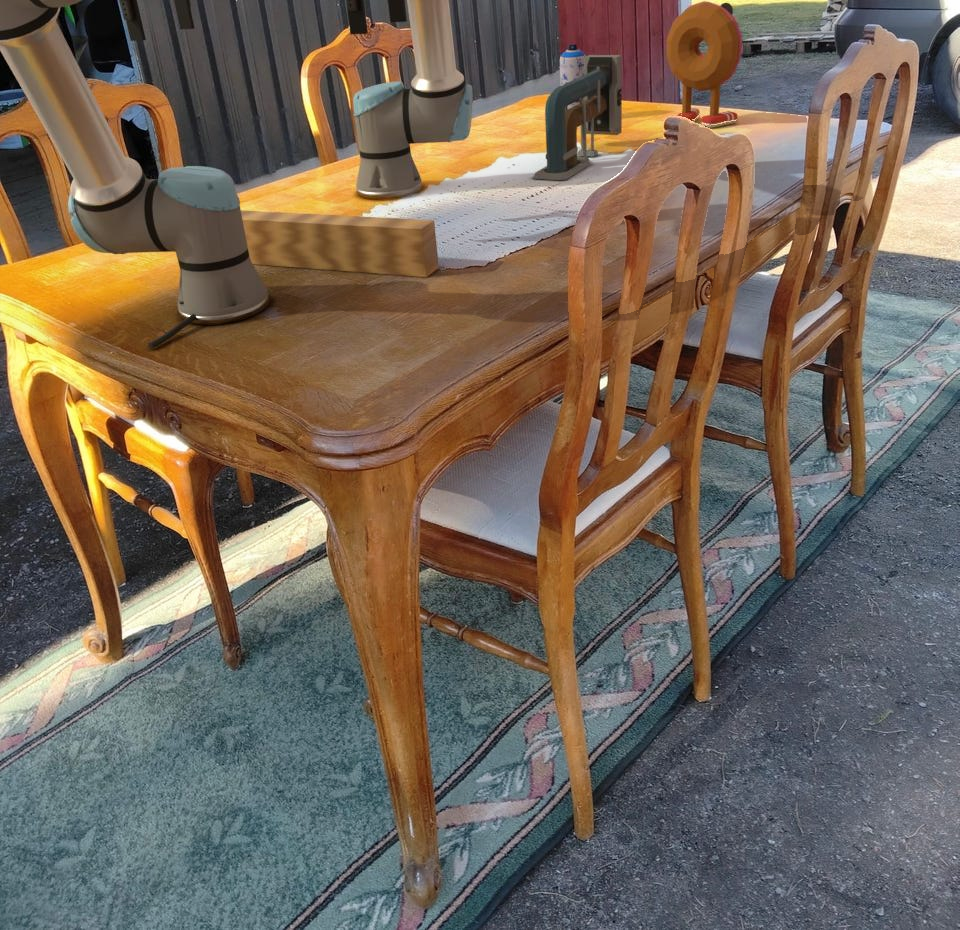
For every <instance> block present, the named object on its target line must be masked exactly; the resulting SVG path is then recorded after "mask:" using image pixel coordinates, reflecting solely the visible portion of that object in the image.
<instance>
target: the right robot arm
mask: <svg viewBox="0 0 960 930" xmlns="http://www.w3.org/2000/svg"><path fill="white" fill-rule="evenodd" d="M345 3H346V11H347V20H348V26H349V34H350V35H367V34H368V33H369V31H368V23H367V15H366V7H365V0H345ZM387 4H388V13H389V22H390V23H406V22H408V20H407V19H409V26H410V33H411V42H412V49H413V55H414V62H415V69H416V70H415V71H416V74H415V76H414V77H413V78H412V80H411V82H410V85H411V88H405V84H404V83H403V82H402V81H399V80H397V81H389V82H388V81H387V82H383V83H379V84H375V85H371V86H368V87H365V88H362V89H360V90H358V91H357V92H356V93H355V94H354V95H353V99H352V104H353V117H354V122H355V132H356V137H357V145H358V152H359V158H360V159H359V160H360V161H359V162H360V163H359V167H358V173H357V180H356V183H355V184H356V186H355V188H356V195H357V196H358V197H359V198H362V199H365V200H372V201H373V200H377V201H378V200H379V201H380V200H381V201H383V200H394V199H401V198H405V197H410V196H413V195H415V194H417V193H419V192H421V190H422V189H423V179H422V177H421V175H420V172H419V170H418V167H417V165H416V163H415V161H414V159H413V156H412V151H411V145H412V144H432V143H433V144H434V143H448V144H450V143H451V142H461V141H465V140H466V139H468V138H469V136H470V134H471V127H472V118H473V117H472V116H473V104H474V103H473V101H474V100H473V99H474V98H473V97H474V95H473V94H474V93H473V86H472V85H471V84H468V83H465V77H464V74H462V72H460V71H459V70H457V65H456V64H457V63H456V56H455V48H454V37H453V29H452V20H451V19H452V17H451V9H450V2H449V0H387ZM406 4H407V9H406ZM407 11H408V18H407Z"/></svg>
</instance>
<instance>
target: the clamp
mask: <svg viewBox="0 0 960 930" xmlns="http://www.w3.org/2000/svg"><path fill="white" fill-rule="evenodd" d="M622 58H623V56H622V55H621V54H589V55H586V57H585V75H583V76H581V77H579V78H577V79H575V80H573V81H570V82H568V83H566V84H564V85H562V86H560V85H559V86H557V87H555V88H554V89H553V91H552V92H551V93H550V94H549V95H548V96H547V99H546V101H545V107H544V120H545V121H544V122H545V123H544V124H545V146H546V147H545V149H546V150H545V151H546V154H545V160H546V165H545V166H544V167H542V168H541V169H538V170H537V171H535V172H534V174H533V176H532V178H533V179H536V180H549V181H551V180H552V181H564V180H568V179H570V178H571V177H572V176H574V175H576V174H577V173H579V172H580V171H582V170H584V169H585V168H587V167H588V166H591V161H590V158H589V157H593V158H594V157H595V156H598V155H599V153H598V150H597V149H595V135H602V136H603V135H605V136H619V135H620V134H621V133H622V129H623V128H622V127H623V125H622V122H623V121H622V120H623V117H622V116H623V115H622V108H623V107H622V104H623V103H622V98H623V95H622V91H623V89H622V87H623V86H622V85H623V82H622V81H623V79H622V78H623V76H622V75H623V74H622V73H623V72H622V71H623V70H622V69H623V68H622V67H623V65H622V61H623V59H622ZM574 102H580V104H578V105H576V106H574V107H572V108H570V109H568V105H570V104H572V103H574ZM579 127H580V148H581V149H580V150H579V149H578V134H577V133H578V128H579ZM587 135H590V149H587Z"/></svg>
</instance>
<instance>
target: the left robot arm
mask: <svg viewBox="0 0 960 930" xmlns="http://www.w3.org/2000/svg"><path fill="white" fill-rule="evenodd" d="M81 1H83V0H0V53H1V54H2V56H3V58H4V60H5V61H6V63H7V65H8V66H9V69H10V70H11V72H12V74H13V75H14V77H15V79H16V81H17V82H18V84H19V86H20V87H21V89H22V91H23V93H24V95H25V96H26V98H27V100H28V102H29V103H30V105H31V107H32V109H33V111H34V112H35V114H36V116H37V117H38V119H39V121H40V123H41V124H42V127H43V128H44V129H45V132H46V133H47V136H49V138H50V140H51V142H52V144H53V145H54V147H55V150H57V152H58V154H59V155H60V157H61V159H62V161H63V163H64V164H65V166H66V169H67V170H68V172H69V173H70V175H71V177H72V178H73V179H72V181H71V184H70V194H69V195H68V202H67V209H68V210H67V211H68V213H69V214H70V215H71V218H70V223H71V226H72V228H73V230H74V233H75V234H76V235H77V237H78V239H79V240H80V241H81V242H82V243H83V244H84V245H85V246H86V247H88V248H89V249H90V250H92V251H95V252H97V253H100V254H112V255H126V254H136V253H139V254H140V253H168V252H169V253H175V254H176V258H177V262H178V266H179V283H178V294H177V310H178V314H179V318H180V319H182V320H181V322H179V323H178V324H177V325H175V326H174V327H172V328H171V329H170V330H168V331H167V332H166V333H164V334H162V335H161V336H159V337H157V338H156V339H154V340H152V341H149V342H148V344H147V346H148V348H149V349H155V348H156V347H158V346H160V345H161V344H164V343H166V342H167V341H168V340H169V339H171V338H172V337H174V336H175V335H176V334H177V333H179V332H180V331H182V330H183V329H184V328H186V327H187V326H188V325H190V324H193V325H202V326H203V325H204V326H205V325H206V326H210V325H222V324H230V323H233V322H239V321H241V320H245V319H248V318H251V317H253V316H256V315H258V314H260V312H263V311H264V310H265V309H266V308H267V307H268V306H269V305H270V296H269V292H268V290H267V287H266V284H265V283H264V282H263V280H262V278H261V276H260V274H259V272H258V270H257V269H256V267H255V264H252V262H251V259H250V256H249V251H248V246H247V240H246V235H245V230H244V225H243V220H242V214H241V210H242V209H241V201H240V198H239V196H238V193H237V188H236V184H235V182H234V180H233V178H232V177H231V175H230V174H228V173H227V172H226V171H224V170H222V169H219V168H215V167H210V166H203V165H186V166H176V167H171V168H167V169H164V170H162V171H161V172H160V173H159V174H158V176H157V177H158V178H155V179H154V178H153V179H151V178H150V179H149V178H147V177H146V175H145V173H144V171H143V168H142V166H141V165H140V163H139V162H138V161H137V160H135V159H133V158H131V157H129V156H128V157H127V156H125V154H124V153H123V151H122V148H121V147H120V144H119V143H118V140H117V138H116V137H115V135H114V132H113V130H112V129H111V127H110V125H109V122H108V121H107V118H106V117H105V115H104V113H103V111H102V109H101V107H100V105H99V103H98V101H97V99H96V97H95V95H94V94H93V91H92V89H91V87H90V86H89V84H88V82H87V79H86V77H85V76H84V74H83V72H82V69H81V68H80V66H79V63H78V62H77V60H76V58H75V56H74V54H73V52H72V50H71V48H70V46H69V45H68V42H67V40H66V38H65V37H64V35H63V33H62V31H61V28H60V26H59V24H58V22H57V19H58V16H59V13H60V11H61V8H64V7H69V6H72V5H75V4H79V2H81ZM118 1H119V4H120V9H121V13H122V17H123V19H124V21H125V23H126V27H127V31H128V35H129V39H130V42H136V41H137V42H140V41H142V42H143V41H146V39H147V38H146V34H145V30H144V25H143V21H142V17H141V13H140V9H139V4H138V0H118ZM173 3H174V7H175V11H176V17H177V21H178V25H179V30H194V29H195V23H194V19H193V14H192V9H191V8H192V4H191V3H192V2H191V0H173Z"/></svg>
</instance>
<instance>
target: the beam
mask: <svg viewBox="0 0 960 930" xmlns="http://www.w3.org/2000/svg"><path fill="white" fill-rule="evenodd" d="M241 214H242V220H243V225H244V230H245V235H246V240H247V246H248V251H249V256H250V259H251V262H252V264H253V265H259V266H271V267H285V268H296V269H297V268H298V269H310V270H312V269H313V270H323V271H324V270H325V271H339V272H352V273H366V274H378V275H379V274H380V275H391V276H393V275H394V276H403V277H404V276H405V277H406V276H407V277H418V278H419V277H421V278H428V277H429V276H431V274H433V273H434V272H435V271H437V270H438V269H439V267H440V264H439V253H438V246H437V235H436V225H435V220H434V219H419V218H401V217H399V218H398V217H397V218H396V217H381V216H380V217H379V216H358V215H341V214H339V215H338V214H321V213H320V214H319V213H318V214H317V213H301V212H300V213H298V212H282V211H281V212H280V211H279V212H278V211H261V210H260V211H259V210H258V211H257V210H242V209H241Z"/></svg>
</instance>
